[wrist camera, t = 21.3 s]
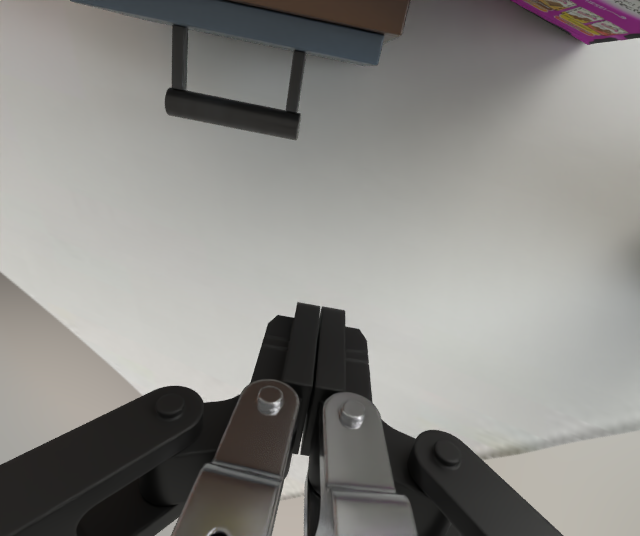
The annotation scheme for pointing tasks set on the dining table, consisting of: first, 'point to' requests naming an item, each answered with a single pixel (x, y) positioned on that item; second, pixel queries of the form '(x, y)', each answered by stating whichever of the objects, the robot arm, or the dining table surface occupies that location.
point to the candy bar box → (590, 18)
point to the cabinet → (345, 13)
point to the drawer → (253, 26)
